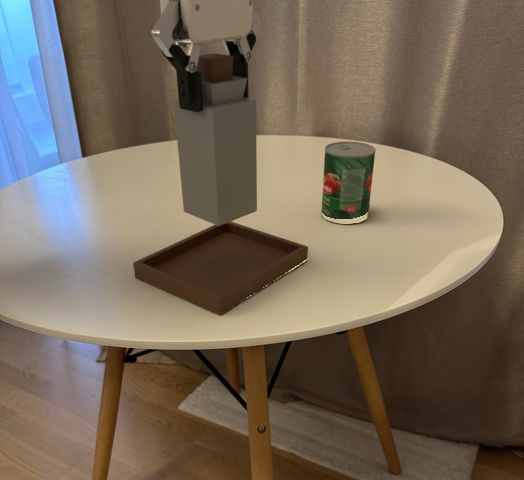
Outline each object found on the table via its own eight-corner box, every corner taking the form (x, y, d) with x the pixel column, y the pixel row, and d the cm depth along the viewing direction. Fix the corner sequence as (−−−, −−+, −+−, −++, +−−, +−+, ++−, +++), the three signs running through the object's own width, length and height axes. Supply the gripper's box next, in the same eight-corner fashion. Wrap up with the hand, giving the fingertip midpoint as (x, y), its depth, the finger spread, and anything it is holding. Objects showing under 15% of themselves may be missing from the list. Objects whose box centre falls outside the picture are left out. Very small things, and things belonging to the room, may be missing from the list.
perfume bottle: (218, 226, 68) (210, 63, 57) (183, 211, 71) (169, 56, 61) (257, 211, 71) (255, 55, 61) (222, 198, 75) (214, 50, 65)
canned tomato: (378, 218, 91) (386, 150, 84) (341, 228, 87) (347, 158, 81) (347, 203, 96) (352, 138, 90) (311, 213, 93) (314, 146, 86)
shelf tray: (219, 315, 66) (219, 299, 65) (135, 277, 74) (132, 262, 73) (307, 261, 78) (308, 246, 77) (226, 233, 86) (225, 219, 85)
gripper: (234, -87, 61) (239, 88, 71) (108, -95, 50) (136, 113, 60) (289, -89, 57) (285, 95, 67) (165, -99, 46) (184, 123, 56)
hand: (214, 102), depth 64 cm, fingers closed on perfume bottle, 7 cm apart
